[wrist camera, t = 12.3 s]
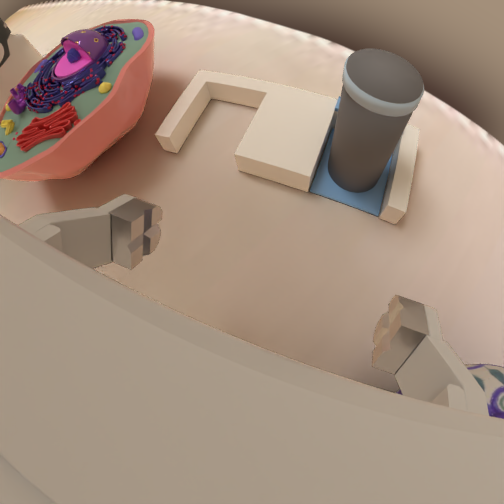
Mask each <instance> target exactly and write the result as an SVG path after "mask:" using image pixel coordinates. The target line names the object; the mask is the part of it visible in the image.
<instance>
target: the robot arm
mask: <svg viewBox="0 0 504 504" xmlns="http://www.w3.org/2000/svg"><path fill="white" fill-rule="evenodd" d="M10 33H11V31H10V29H9V28H8V27H7V24H6V23H5V22H4V21H2V19H1V18H0V114H1V111H2V109H3V107H4V105H5V103H6V101H7V100H8V98H9V96H10V95H11V92H10V90H11V89H12V88H15V87H16V86H17V84H18V83H19V82H20V80H21V79H22V78H23V77H24V75H25V74H26V73H27V72H28V70H29V69H30V68H31V67H32V66H34V65H35V64H36V63H37V62H38V61H40V60H41V59H42V58H44V57H45V56H46V55H47V54H46V55H43V56H42V55H41V54H40V53H39V52H38V51H37V50H36V49H35V48H34V46H33V45H32V44H31V43H30V42H29V41H28V40H27V39H26V37H25V36H24V35H22V34H16V35H12V34H10ZM161 220H162V209H161V207H160V206H157V205H154V204H152V203H149V202H147V201H144V200H141V199H139V198H137V197H134V196H131V195H127V194H123V195H121V196H119V197H117V198H115V199H113V200H112V201H110V202H108V203H106V204H104V205H102V206H100V207H98V208H97V209H96V208H94V207H92V208H84V209H76V210H68V211H61V212H53V213H46V214H39V215H35V216H34V217H32V218H30V219H28V220H26V221H25V222H23V223H21V224H19V225H16V224H14V223H13V222H11V221H10V220H8V219H6V218H5V217H3V216H2V215H0V504H504V419H502V418H496V417H491V416H489V413H488V407H487V401H486V396H485V392H484V391H483V389H482V388H481V386H480V385H479V384H478V382H477V381H476V380H475V378H474V377H473V375H472V374H471V373H470V371H469V370H468V369H467V367H466V366H465V365H464V363H463V362H462V361H461V360H460V358H459V357H458V356H457V354H456V353H455V352H454V351H453V349H452V348H451V347H450V345H449V344H448V343H447V342H445V341H443V337H442V332H441V327H440V323H439V318H438V314H437V310H436V309H435V308H433V307H430V306H427V305H424V304H421V303H418V302H415V301H413V300H410V299H407V298H404V297H401V296H398V295H395V296H394V297H393V298H392V300H391V301H390V303H389V312H387V313H385V314H383V315H382V316H381V318H380V320H379V321H378V323H377V326H376V328H375V332H374V337H373V342H374V344H375V345H376V347H375V349H374V350H373V356H372V367H374V368H377V369H380V370H383V371H386V372H389V373H391V374H394V376H395V379H396V381H397V383H398V385H399V387H400V389H401V392H402V394H403V395H401V394H397V393H394V392H390V391H387V390H383V389H380V388H377V387H374V386H370V385H367V384H364V383H361V382H358V381H354V380H351V379H348V378H345V377H342V376H339V375H336V374H333V373H330V372H327V371H324V370H322V369H319V368H316V367H313V366H310V365H307V364H305V363H302V362H299V361H296V360H294V359H291V358H288V357H286V356H283V355H280V354H278V353H275V352H272V351H270V350H267V349H265V348H262V347H260V346H257V345H255V344H252V343H250V342H247V341H245V340H242V339H240V338H237V337H235V336H233V335H230V334H228V333H225V332H223V331H221V330H218V329H216V328H214V327H211V326H209V325H207V324H205V323H202V322H200V321H198V320H196V319H193V318H191V317H189V316H187V315H184V314H182V313H180V312H178V311H176V310H174V309H171V308H169V307H167V306H165V305H163V304H161V303H159V302H157V301H155V300H152V299H150V298H148V297H146V296H144V295H142V294H140V293H138V292H136V291H134V290H132V289H130V288H128V287H126V286H124V285H122V284H120V283H118V282H116V281H114V280H113V279H111V278H109V277H107V276H105V275H103V274H101V273H99V272H97V271H95V270H94V269H93V268H96V267H99V266H102V265H105V264H108V263H111V262H114V263H116V264H119V265H121V266H123V267H125V268H128V269H130V270H132V269H133V268H134V267H135V266H136V265H138V264H139V263H140V262H141V261H142V257H143V256H144V255H149V254H151V253H152V252H153V251H154V250H155V248H156V247H157V245H158V243H159V240H160V235H161V230H160V228H159V225H158V223H159V222H160V221H161Z"/></svg>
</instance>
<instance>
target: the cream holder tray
mask: <svg viewBox="0 0 504 504" xmlns="http://www.w3.org/2000/svg"><path fill="white" fill-rule="evenodd" d="M340 98H341V97H340V96H339V98H338V99H336V98H332V97H329V96H325V95H322V94H318V93H315V92H311V91H307V90H303V89H300V88H296V87H292V86H287V85H283V84H279V83H274V82H270V81H265V80H260V79H255V78H250V77H244V76H239V75H233V74H227V73H221V72H214V71H207V70H199V71H198V73H197V74H196V75H195V77H194V78H193V79H192V81H191V82H190V83H189V85H188V86H187V87H186V89H185V90H184V92H183V93H182V94H181V96H180V97H179V99H178V100H177V102H176V103H175V105H174V106H173V107H172V109H171V110H170V112H169V113H168V115H167V116H166V118H165V119H164V121H163V122H162V124H161V125H160V127H159V129H158V130H157V132H156V133H155V136H156V137H157V139H158V141H159V142H160V144H161V146H162V147H163V149H164V150H166V151H170V152H174V153H178V152H179V150H180V148H181V147H182V145H183V143H184V142H185V140H186V138H187V136H188V135H189V133H190V132H191V130H192V128H193V127H194V125H195V123H196V122H197V120H198V119H199V117H200V115H201V114H202V112H203V111H204V109H205V107H206V106H207V104H208V103H209V101H210V100H211V99H217V100H222V101H227V102H232V103H236V104H241V105H246V106H250V107H255V108H258V110H257V112H256V114H255V116H254V117H253V119H252V121H251V123H250V125H249V127H248V129H247V131H246V132H245V134H244V136H243V138H242V140H241V142H240V144H239V146H238V148H237V150H236V152H235V154H234V155H235V159H236V162H237V166H238V170H239V171H242V172H246V173H249V174H252V175H256V176H259V177H262V178H265V179H268V180H272V181H275V182H278V183H281V184H284V185H287V186H290V187H293V188H296V189H299V190H302V191H305V192H308V191H309V188H310V185H311V183H312V180H313V177H314V175H315V172H316V169H317V166H318V164H319V161H320V158H321V156H322V153H323V150H324V147H325V144H326V142H327V139H328V136H329V133H330V130H331V129H332V130H331V133H330V136H329V139H328V142H327V144H326V147H325V150H324V153H323V156H322V158H321V161H320V164H319V167H318V169H317V172H316V175H315V178H314V180H313V183H312V186H311V188H310V192H312V193H315V194H317V195H320V196H323V197H326V198H329V199H332V200H335V201H337V202H340V203H343V204H346V205H348V206H351V207H354V208H357V209H359V210H362V211H365V212H367V213H370V214H372V215H375V216H378V215H379V218H380V219H382V220H385V221H387V222H390V223H392V224H395V225H396V223H397V222H398V221H399V220H400V219H401V218H402V217H403V215H404V214H405V213H406V210H407V205H408V200H409V195H410V190H411V184H412V179H413V173H414V167H415V160H416V154H417V147H418V139H419V131H420V129H419V128H416V127H414V126H411V125H409V124H407V125H406V127H405V129H404V131H403V133H402V135H401V137H400V139H399V141H398V143H397V145H396V147H395V149H394V154H393V153H392V155H393V158H392V155H391V157H390V159H389V161H388V163H387V165H386V167H385V169H384V171H383V173H382V174H381V176H380V178H379V180H378V182H377V184H376V185H375V186H374V187H373V188H372V189H370V190H368V191H366V192H361V193H355V192H350V191H347V190H344V189H342V188H341V187H339V186H338V185H337V184H336V183H335V182H334V181H333V180H332V178H331V177H330V175H329V172H328V159H329V154H330V150H331V145H332V140H333V135H334V130H335V125H336V120H337V114H338V109H339V104H340ZM391 160H392V163H391ZM390 164H391V168H390ZM389 169H390V173H389ZM388 174H389V177H388ZM387 178H388V182H387ZM386 182H387V186H386ZM385 187H386V190H385ZM384 191H385V194H384ZM383 195H384V199H383ZM382 199H383V203H382ZM381 203H382V207H381ZM380 207H381V211H380ZM379 211H380V214H379Z"/></svg>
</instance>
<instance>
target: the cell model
mask: <svg viewBox="0 0 504 504" xmlns="http://www.w3.org/2000/svg"><path fill="white" fill-rule="evenodd" d="M153 69H154V28H153V25H152V24H151V23H150V22H149V21H146V20H139V19H122V20H113V21H109V22H106V23H103V24H101V25H98V26H95V27H93V28H90V29H84V30H78V31H75V32H72V33H70V34H68V35H66V36H65V37H63V38H62V40H61V44H59V45H58V46H57V47H56V48H54V49H53V50H52V51H51V52H50V53H48V54H47V55H46V56H45V57H44V58H42V59H41V60H40V61H38V62H37V63H36V64H35V65H34V66H32V67H31V68H30V69H29V70H28V72H27V73H26V74H25V75H24V77H23V78H22V79H21V80H20V82H19V83H18V84H17V86H16V87H15V88H12V89H11V90H10V92H11V95H10V96H9V98H8V100H7V101H6V103H5V105H4V107H3V109H2V111H1V114H0V179H8V180H17V181H27V182H29V181H43V180H49V179H67V178H72V177H75V176H77V175H79V174H81V173H82V172H83V171H84V170H86V169H87V168H88V167H89V166H90V165H91V164H92V163H93V162H94V161H95V160H96V159H97V158H98V157H99V156H100V155H101V154H102V153H104V152H105V151H106V150H107V149H109V148H110V147H111V146H113V145H114V144H115V143H116V142H117V141H118V140H120V139H121V138H122V137H123V136H124V135H125V134H127V133H128V132H129V131H130V130H131V129H133V128H134V126H135V125H136V123H137V122H138V120H139V119H140V117H141V115H142V113H143V111H144V108H145V105H146V101H147V98H148V94H149V90H150V87H151V83H152V78H153Z"/></svg>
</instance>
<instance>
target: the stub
mask: <svg viewBox="0 0 504 504" xmlns="http://www.w3.org/2000/svg"><path fill="white" fill-rule="evenodd" d="M342 81H343V87H342V93H341V98H340V104H339V109H338V114H337V120H336V125H335V130H334V135H333V140H332V145H331V150H330V154H329V159H328V172H329V175H330V177H331V178H332V180H333V181H334V182H335V183H336V184H337V185H338V186H339V187H341V188H342V189H344V190H347V191H350V192H355V193H361V192H366V191H368V190H370V189H372V188H373V187H374V186H375V185H376V184H377V182H378V180H379V178H380V176H381V174H382V173H383V171H384V169H385V167H386V165H387V163H388V161H389V159H390V157H391V155H392V153H393V151H394V149H395V147H396V145H397V143H398V141H399V139H400V137H401V135H402V133H403V131H404V129H405V127H406V125H407V123H408V121H409V119H410V117H411V115H412V113H413V111H414V110H415V109H416V108H417V106H418V104H419V102H420V100H421V97H422V95H423V93H424V85H423V80H422V78H421V76H420V74H419V72H418V71H417V70H416V69H415V67H414V66H413V65H411V64H410V63H409V62H408V61H406V60H405V59H403V58H402V57H400V56H398V55H396V54H394V53H391V52H388V51H384V50H380V49H362V50H358V51H356V52H354V53H353V54H351V55H350V56H349V57H348V58H347V60H346V62H345V65H344V71H343V78H342Z"/></svg>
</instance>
